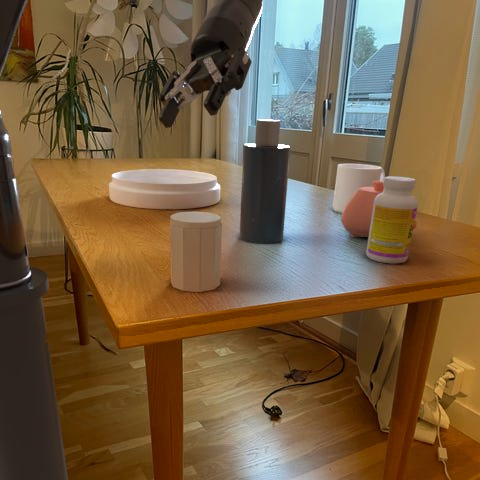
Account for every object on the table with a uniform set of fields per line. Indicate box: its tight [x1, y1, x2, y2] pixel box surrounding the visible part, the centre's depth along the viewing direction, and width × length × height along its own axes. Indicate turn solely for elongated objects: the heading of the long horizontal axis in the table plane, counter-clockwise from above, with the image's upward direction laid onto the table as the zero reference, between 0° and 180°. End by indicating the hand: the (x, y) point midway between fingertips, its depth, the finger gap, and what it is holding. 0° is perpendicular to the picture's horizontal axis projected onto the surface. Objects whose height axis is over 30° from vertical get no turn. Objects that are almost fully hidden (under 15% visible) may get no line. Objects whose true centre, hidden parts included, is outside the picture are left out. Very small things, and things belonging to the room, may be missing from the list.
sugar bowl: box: [340, 181, 418, 238], centre depth 90 cm, size 12×14×10 cm
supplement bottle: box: [365, 175, 419, 265], centre depth 76 cm, size 7×7×13 cm
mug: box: [332, 163, 386, 214], centre depth 112 cm, size 13×10×10 cm
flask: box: [239, 119, 291, 245], centre depth 83 cm, size 8×8×20 cm
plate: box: [108, 168, 221, 210], centre depth 117 cm, size 27×27×5 cm
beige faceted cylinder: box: [169, 211, 223, 293], centre depth 62 cm, size 6×7×9 cm
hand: (185, 117), depth 66 cm, fingers open, 8 cm apart
